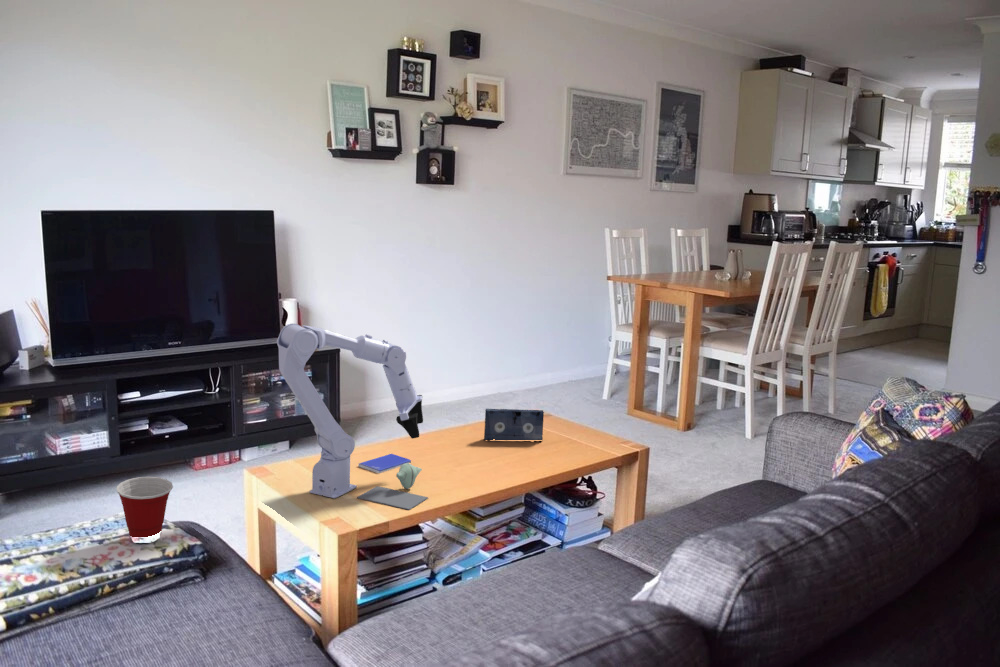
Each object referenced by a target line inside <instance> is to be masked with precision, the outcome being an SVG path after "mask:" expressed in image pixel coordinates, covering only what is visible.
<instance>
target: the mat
mask: <svg viewBox="0 0 1000 667" xmlns="http://www.w3.org/2000/svg"><path fill="white" fill-rule="evenodd" d="M356 499H358V500H359V499H360V500H363V501H367V500H368V502H372V503H377V504H381V505H385V506H390V507H394V508H399V509H401V510H403V509H404V510H406V511H411V510H412V509H414V508H415V507H417V506H418V505H420V504H422V503H423V502H425V501H426V500H428V499H429V497H428V496H424V495H419V494H415V493H410V492H405V491H402V490H397V489H392V488H387V487H383V486H379V485H377V486H375V487H373V488H371V489H369V490H367V491H366V492H363V493H362V494H359V495H358V496H356Z"/></svg>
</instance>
